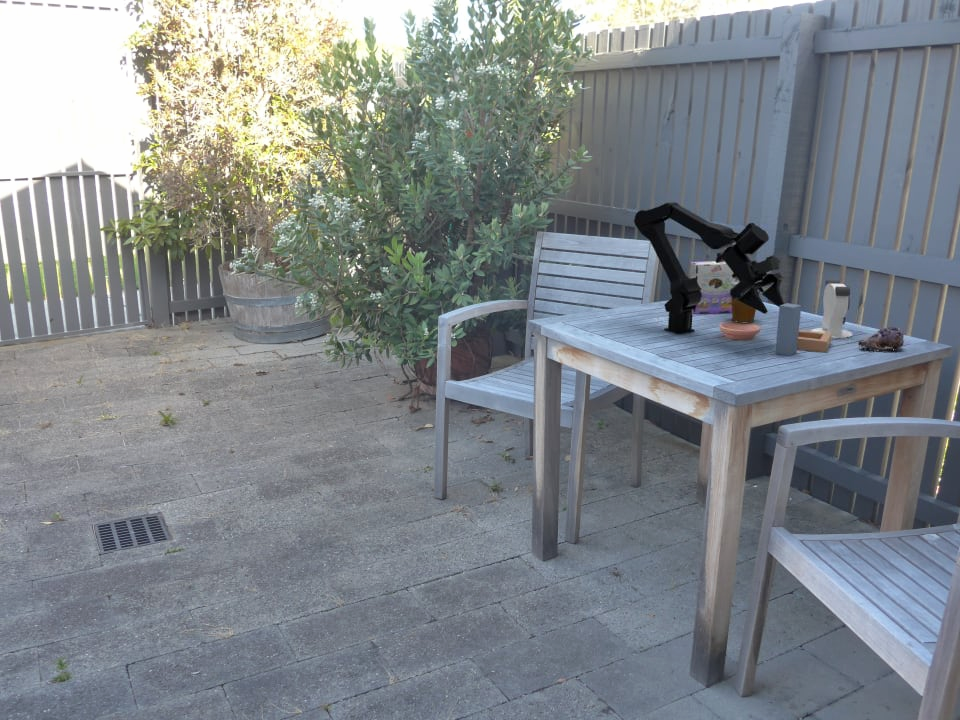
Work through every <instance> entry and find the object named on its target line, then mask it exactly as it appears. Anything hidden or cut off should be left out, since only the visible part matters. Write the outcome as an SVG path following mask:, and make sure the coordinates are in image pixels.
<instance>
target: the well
mask: <svg viewBox="0 0 960 720" xmlns="http://www.w3.org/2000/svg"><path fill="white" fill-rule="evenodd" d="M832 339H833V338H832V333H823V332H814V331H811V330H804V329H803V330H802V329H799V333H798V343H797V350H800V351H809V352H818V353H827V351H828V349H829V348H830V346H831V344H832Z"/></svg>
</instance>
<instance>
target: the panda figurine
mask: <svg viewBox="0 0 960 720" xmlns="http://www.w3.org/2000/svg"><path fill="white" fill-rule="evenodd" d="M824 286H825V287H824V293H823V299H822V305H823V306H822V307H823V317H822V323H821V327H817V328H813V329H811V330H810V331H814V332H823V333H832V339H837V338H838V339H839V338H840V339H848V338H847V337H849V338H851V337H850V336H852V337H853V332H852V331H851V332H850V331H848V330H845V329H843V326H844V325H845V323H846V318H847V317H846V314H847V312H848V311H849V310H850V302H851V301H850V295H851V287H850V286H846V285H845V284H844V283H840V280H826V281H825V285H824ZM840 339H839V340H840Z"/></svg>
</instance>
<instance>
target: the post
mask: <svg viewBox="0 0 960 720" xmlns="http://www.w3.org/2000/svg"><path fill="white" fill-rule="evenodd" d="M778 308H779V309H778V310H779V311H778V321H777V329H776V330H777V331H776V342H775V351H774V353H776V354H781V355H785V356H791V355H794V354H797V351H798V349H797V343H798V333H799V330H800V322H801V321H800V320H801V313H802V312H801V311H802V305H800V304H794V303H788V302H787V303H784V304H783V305H780V307H778Z"/></svg>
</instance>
